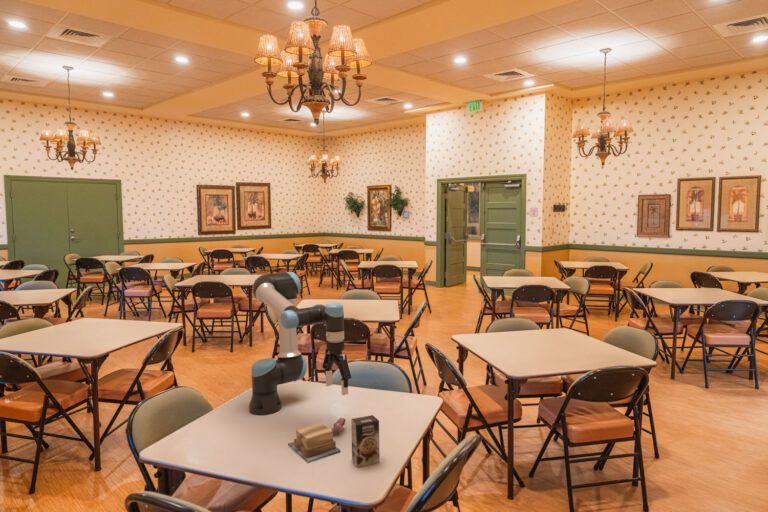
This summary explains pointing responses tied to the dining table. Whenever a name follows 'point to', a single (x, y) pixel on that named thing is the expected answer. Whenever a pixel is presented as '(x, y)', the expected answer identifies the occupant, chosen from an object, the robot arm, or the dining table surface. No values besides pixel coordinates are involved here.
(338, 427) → the video game controller
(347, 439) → the dining table surface
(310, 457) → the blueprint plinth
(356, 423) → the coffee box
